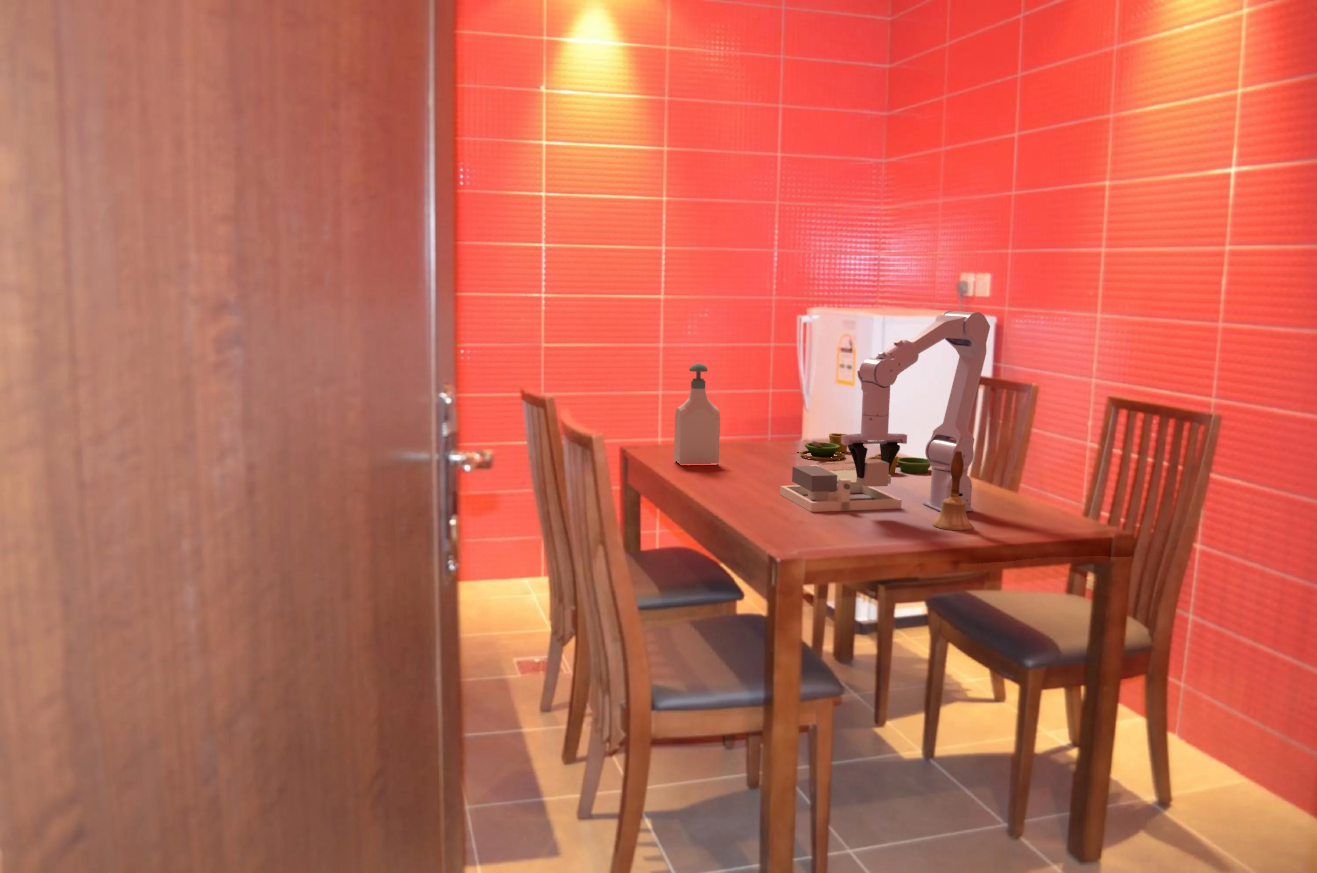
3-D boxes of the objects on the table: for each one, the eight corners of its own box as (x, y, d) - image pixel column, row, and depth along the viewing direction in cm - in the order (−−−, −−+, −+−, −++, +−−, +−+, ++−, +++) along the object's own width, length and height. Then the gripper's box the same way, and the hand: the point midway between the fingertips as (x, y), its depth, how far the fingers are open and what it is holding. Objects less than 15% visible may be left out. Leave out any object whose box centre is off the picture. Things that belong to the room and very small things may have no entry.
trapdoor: (890, 490, 238) (891, 474, 238) (813, 492, 234) (814, 476, 233) (863, 478, 252) (864, 463, 251) (790, 480, 247) (791, 465, 247)
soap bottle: (710, 460, 295) (713, 362, 290) (718, 465, 287) (721, 364, 282) (672, 461, 292) (674, 362, 288) (679, 466, 284) (681, 364, 280)
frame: (902, 509, 236) (904, 479, 235) (812, 512, 231) (813, 482, 230) (863, 490, 256) (864, 463, 255) (778, 493, 251) (779, 465, 250)
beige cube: (887, 486, 226) (889, 463, 225) (866, 486, 225) (867, 463, 224) (877, 481, 231) (878, 459, 230) (856, 482, 230) (857, 459, 229)
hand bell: (965, 521, 225) (970, 448, 223) (978, 531, 217) (983, 454, 214) (927, 521, 225) (931, 447, 222) (938, 530, 216) (943, 454, 214)
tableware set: (784, 453, 312) (785, 432, 311) (868, 450, 320) (869, 430, 319) (851, 479, 273) (853, 455, 272) (944, 475, 282) (946, 452, 281)
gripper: (897, 411, 231) (894, 472, 233) (836, 412, 228) (833, 474, 230) (912, 415, 225) (909, 478, 227) (849, 417, 221) (847, 480, 223)
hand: (872, 477), depth 228 cm, fingers closed on beige cube, 5 cm apart
